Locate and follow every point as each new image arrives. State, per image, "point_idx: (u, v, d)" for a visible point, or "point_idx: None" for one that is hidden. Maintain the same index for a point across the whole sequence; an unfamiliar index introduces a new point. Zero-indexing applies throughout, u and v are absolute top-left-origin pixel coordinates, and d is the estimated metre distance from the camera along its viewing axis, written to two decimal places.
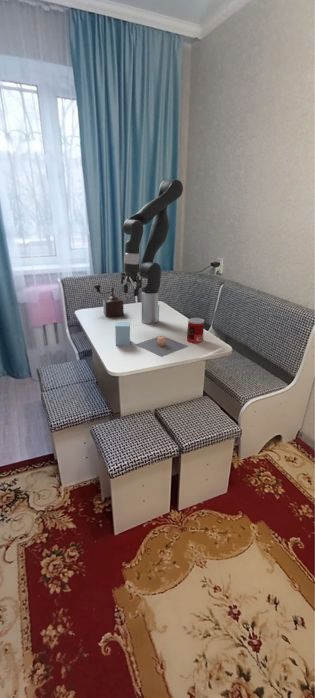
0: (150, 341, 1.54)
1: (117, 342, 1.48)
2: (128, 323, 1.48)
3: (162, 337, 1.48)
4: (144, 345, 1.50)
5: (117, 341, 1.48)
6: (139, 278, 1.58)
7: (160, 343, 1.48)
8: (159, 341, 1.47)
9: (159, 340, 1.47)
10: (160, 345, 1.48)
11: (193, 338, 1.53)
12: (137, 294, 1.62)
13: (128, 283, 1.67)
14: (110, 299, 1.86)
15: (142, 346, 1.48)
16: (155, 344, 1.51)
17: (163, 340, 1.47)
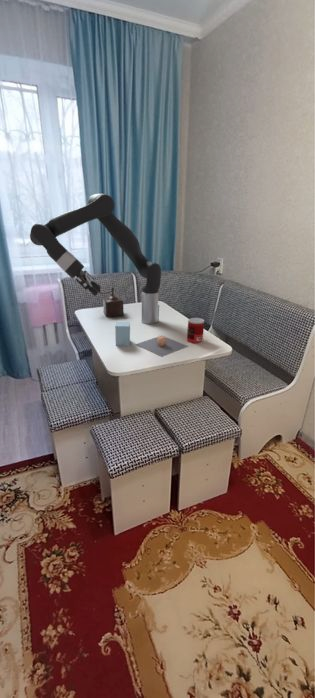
0: (150, 341, 1.54)
1: (117, 342, 1.48)
2: (128, 323, 1.48)
3: (162, 337, 1.48)
4: (144, 345, 1.50)
5: (117, 341, 1.48)
6: (79, 280, 1.32)
7: (160, 343, 1.48)
8: (159, 341, 1.47)
9: (159, 340, 1.47)
10: (160, 345, 1.48)
11: (193, 338, 1.53)
12: (95, 292, 1.36)
13: (92, 280, 1.42)
14: (110, 299, 1.86)
15: (142, 346, 1.48)
16: (155, 344, 1.51)
17: (163, 340, 1.47)
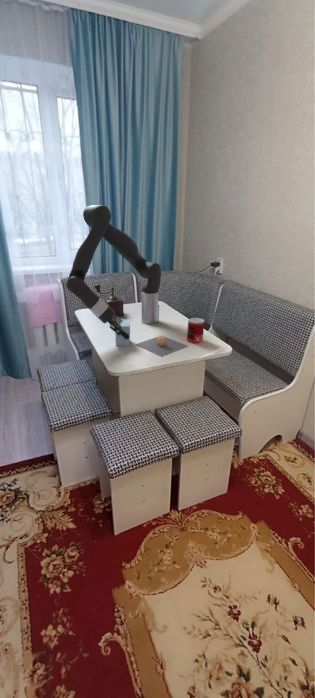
0: (150, 341, 1.54)
1: (117, 342, 1.48)
2: (128, 323, 1.48)
3: (162, 337, 1.48)
4: (144, 345, 1.50)
5: (117, 341, 1.48)
6: (113, 327, 1.41)
7: (159, 342, 1.48)
8: (159, 341, 1.47)
9: (159, 340, 1.48)
10: (160, 345, 1.48)
11: (193, 338, 1.53)
12: (126, 337, 1.46)
13: None
14: (110, 299, 1.86)
15: (142, 346, 1.48)
16: (155, 344, 1.51)
17: (162, 340, 1.47)
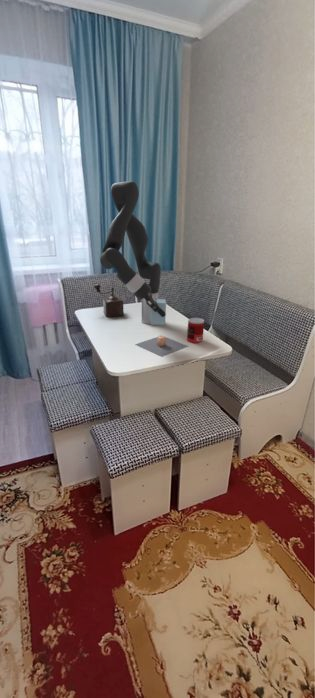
0: (150, 341, 1.54)
1: (152, 320, 1.42)
2: (164, 300, 1.42)
3: (162, 337, 1.48)
4: (144, 345, 1.50)
5: (152, 319, 1.42)
6: (149, 303, 1.35)
7: (159, 342, 1.48)
8: (159, 340, 1.48)
9: (159, 340, 1.48)
10: (159, 345, 1.48)
11: (193, 338, 1.53)
12: (163, 314, 1.40)
13: None
14: (110, 299, 1.86)
15: (142, 346, 1.48)
16: (155, 344, 1.51)
17: (162, 340, 1.47)
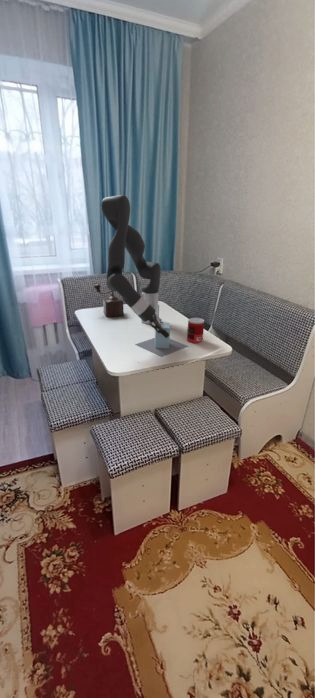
0: (150, 341, 1.54)
1: (157, 344, 1.46)
2: (168, 324, 1.47)
3: None
4: (144, 345, 1.50)
5: (157, 343, 1.46)
6: (153, 325, 1.39)
7: None
8: None
9: None
10: None
11: (193, 338, 1.53)
12: (166, 335, 1.43)
13: (161, 321, 1.49)
14: (110, 299, 1.86)
15: (142, 346, 1.48)
16: None
17: None
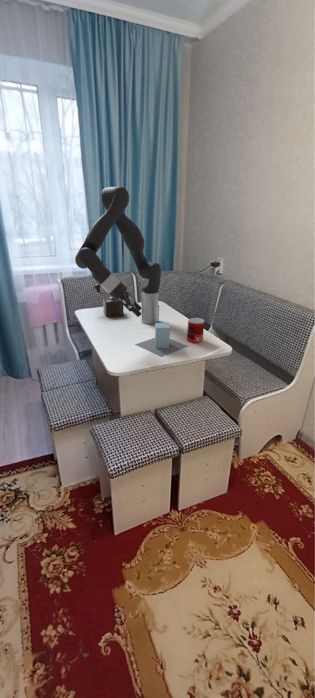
0: (150, 341, 1.54)
1: (157, 344, 1.46)
2: (168, 324, 1.47)
3: None
4: (144, 345, 1.50)
5: (157, 343, 1.46)
6: (124, 302, 1.34)
7: None
8: None
9: None
10: None
11: (193, 338, 1.53)
12: (138, 314, 1.38)
13: (133, 300, 1.44)
14: (110, 299, 1.86)
15: (142, 346, 1.48)
16: None
17: None
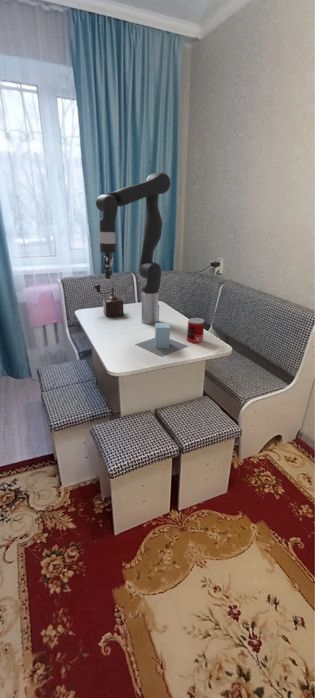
0: (150, 341, 1.54)
1: (157, 344, 1.46)
2: (168, 324, 1.47)
3: None
4: (144, 345, 1.50)
5: (157, 343, 1.46)
6: (106, 259, 1.46)
7: None
8: None
9: None
10: None
11: (193, 338, 1.53)
12: (108, 276, 1.51)
13: None
14: (110, 299, 1.86)
15: (142, 346, 1.48)
16: None
17: None
